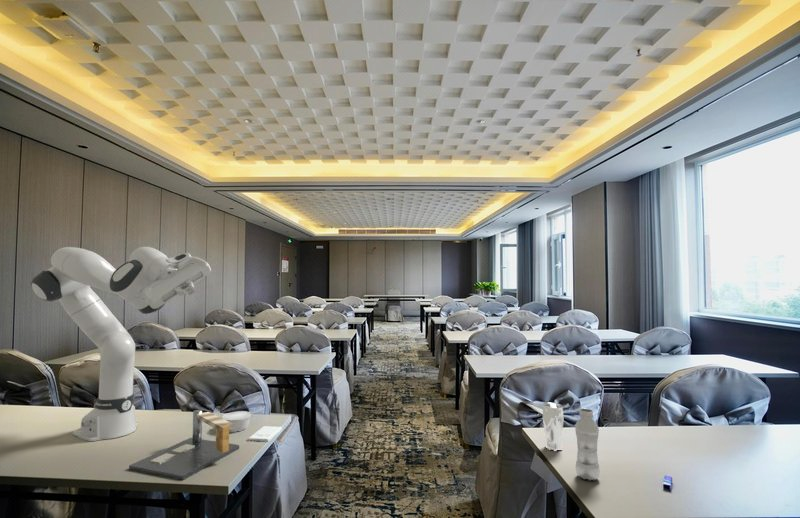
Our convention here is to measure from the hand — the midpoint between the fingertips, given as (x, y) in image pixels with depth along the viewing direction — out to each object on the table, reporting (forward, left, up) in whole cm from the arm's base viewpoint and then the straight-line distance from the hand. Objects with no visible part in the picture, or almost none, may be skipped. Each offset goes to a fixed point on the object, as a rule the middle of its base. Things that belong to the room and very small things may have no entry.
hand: (191, 292), depth 121 cm
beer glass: (+104, +61, -56) cm, 133 cm away
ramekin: (-18, +41, -56) cm, 72 cm away
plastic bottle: (+112, +40, -56) cm, 132 cm away
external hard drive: (-2, +39, -57) cm, 69 cm away
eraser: (+134, +43, -56) cm, 151 cm away
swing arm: (-8, +19, -52) cm, 57 cm away
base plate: (-14, +13, -56) cm, 59 cm away
